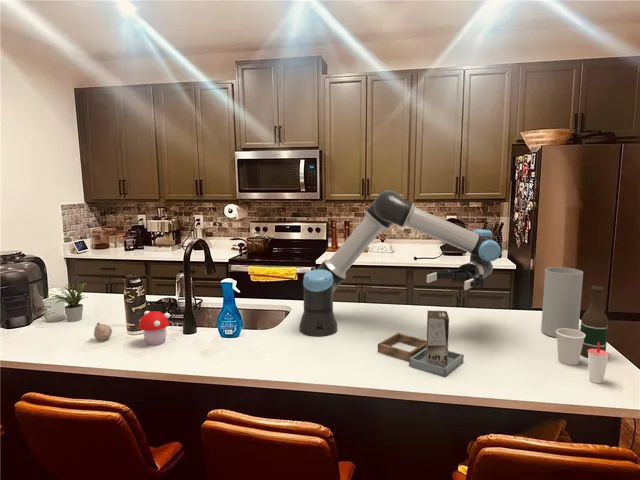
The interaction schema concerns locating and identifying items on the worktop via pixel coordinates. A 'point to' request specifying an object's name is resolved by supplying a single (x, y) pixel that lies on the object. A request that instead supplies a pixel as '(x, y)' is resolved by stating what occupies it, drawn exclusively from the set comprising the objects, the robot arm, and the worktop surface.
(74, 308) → the house plant
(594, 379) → the cup
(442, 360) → the coffee box
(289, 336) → the worktop surface
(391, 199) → the robot arm
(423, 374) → the worktop surface
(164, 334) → the mushroom
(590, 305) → the beer bottle
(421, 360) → the tray
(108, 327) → the garlic bulb
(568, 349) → the dixie cup
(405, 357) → the brown square frame
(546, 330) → the cylinder vase
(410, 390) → the worktop surface
